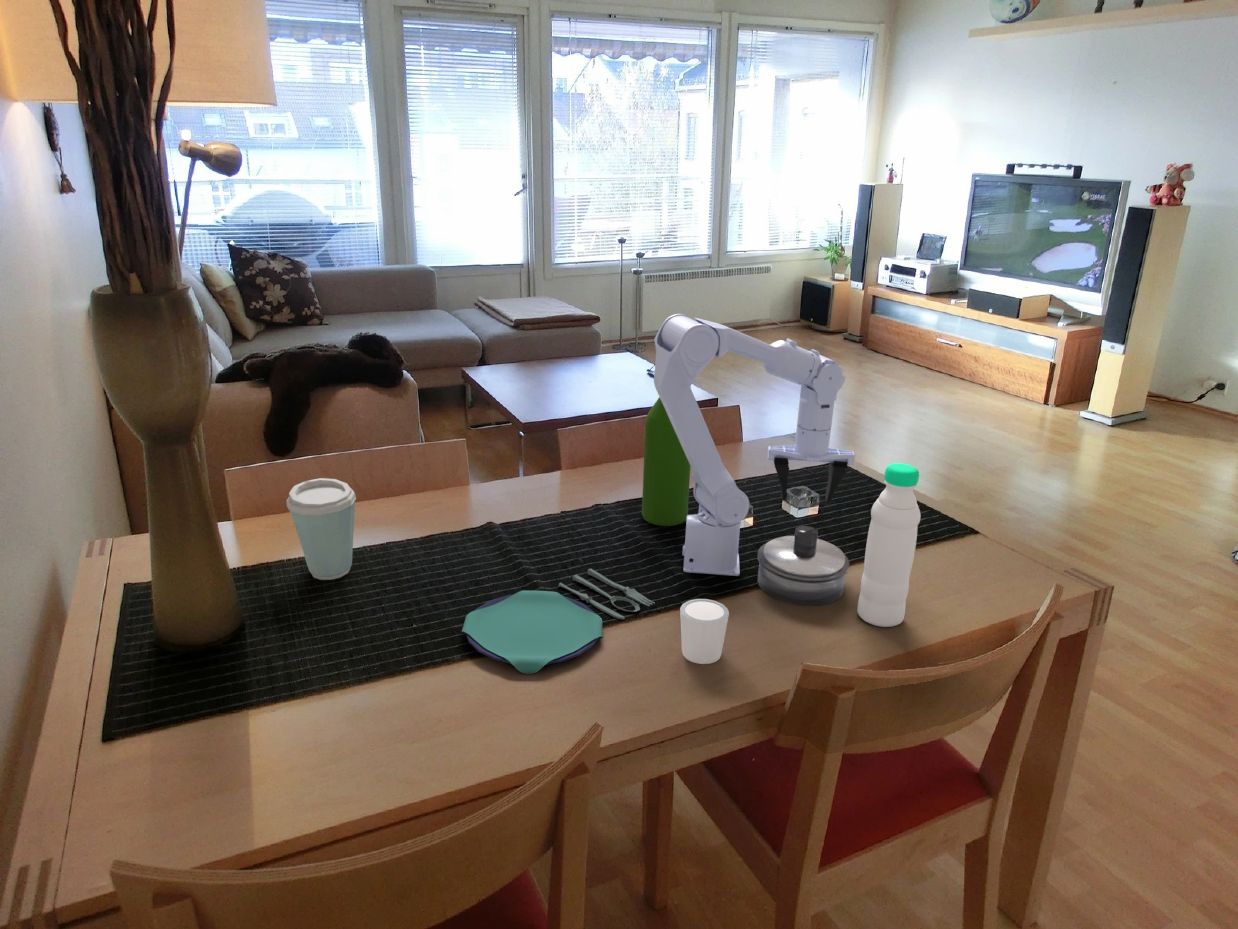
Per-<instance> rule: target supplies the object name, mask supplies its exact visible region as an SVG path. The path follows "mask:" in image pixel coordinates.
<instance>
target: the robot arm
mask: <svg viewBox="0 0 1238 929" xmlns="http://www.w3.org/2000/svg"><path fill="white" fill-rule="evenodd" d="M653 341H654V345H655V363H654V375H653V383H654V387H655V390H656V393H657V395H658V398H659V397H660V399H661V401H662V403H663V406H664V408H665V410H666V412H667V415H668V417H669V419H670V421H671V424H672V426H673V428H674V430H675V432H676V435H677V437H678V439H679V441H680V444H681V446H682V448H683V450H684V453H685V455H686V457H687V459H688V461H689V464H690V469H691V471H692V474H690V478H691V479H692V482H693V491H692V492H693V497H694V499H695V501H696V502H697V503H698V513H697V514H696V513H695V514H688V515H687V519H686V520H685V523H686V525H685V539H684V540H685V541H684V545H682V556H684V557H683V568H682V569H683V572H685V573H694V574H707V575H719V576H731V577H732V576H733V577H739V576H740V574H741V573H740V572H741V571H740V556H739V555H740V554H739V546H740V545H739V544H740V541H739V540H740V531H741V530H740V529H741V522H742V521H743V520H744V519H745V518H746V516H747V514H748V513H749V510H750V500H749V498H748V496H747V495H746V493H744V492H743V491H742V490H741V489H740V488H738V486H737V484H736V481H735V480H734V479H733V477H732V476H731V475H730V473H729V471H728V470H727V469H726V466H724V463H723V460H722V458H721V455H720V454H719V451H718V449H717V447H716V444H715V442H714V439H713V438H712V435H711V433H710V430H709V428H708V425H707V423H706V421H705V419H704V416H703V414H702V411H701V409H700V406H699V404H698V402H697V400H696V397H695V396H694V393H693V391H692V387H691V386H692V384H693V382H694V380H695V379H696V378H697V377H698V376H699V374H700V373H701V372H702V371H703V370H704V369H705V368H706V367H707V366H708V365H709V364H710V362H711V361H713V359H714V357H717V358H721V357H723V356H724V355H725V354H727V353H728V352H730V353H733V354H735V355H739V356H741V357H745V358H747V359H750V360H754V361H757V362H760V363H762V364H763V367H764V370H765V371H766V373H767V374H769V375H772V376H774V377H777V378H780V379H782V380H785V381H789V382H791V383H794V384H796V385H800V392H799V404H798V411H797V412H798V413H797V421H796V422H797V423H796V431H795V440H794V445H791V444H790V445H768V447H767V460H768V461H773V463H774V464H773V465H774V468H775V471H776V474H777V477H778V480H779V483H780V494H781V495H780V497H781V501H787V496H788V495H787V494H788V480H789V472H790V466H789V463H790V462H789V461H797V462H798V461H800V462H801V461H802V462H803V461H804V462H812V463H828V464H829V466H828V479H827V485H826V490H825V496H824V497H825V503H826V504H832V500H833V496H834V494H835V493H836V490H837V488H838V486H839V485H840V483H841V481H842V480H843V478H844V477H845V476H846V475H847V472H848V471H849V470H848V468H849V467H848V466H854V464H855V461H856V460H855V458H856V455H855V452H854V450H847V449H846V450H844V449H838V448H832V447H830V441H831V433H832V426H833V425H832V424H833V416H834V408H835V402H836V401H837V395H838V392H839V391H840V389H841V388H842V387H843V385H844V383H845V381H846V376H844V375H843V368H842V367H841V366H840V363H839V362H837V361H835V360H833V359H832V358H831V359H830V358H828V357H826V356H824V355H821V354H820V351H818V350H816V349H813V348H812V349H811V350H808V349H805V348H803V347H800V346H798V342H797V341H795V340H792V339H790V338H786V340H782V339H779V340H775V341H774V342H772V343H770V344H769V343H767V342H764V341H762V340H760V339H757V338H756V337H752V336H750V335H748V334H746V333H744V332H741V331H738V330H736V329H734V328H731V327H730V326H729V327H728V326H726V325H724V324H722V323H718V322H713V321H711V320H706V319H702V318H698V317H694V318H693V319H692V318H691V317H690V316H688V315H686V314H683V313H676V314H672V315H669V316H668V317H666V319H665V320H664V321H663V322H662V324H661V325H660V327H659V329H658V332H657V333H656V335H655V337H654V339H653Z"/></svg>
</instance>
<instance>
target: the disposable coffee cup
mask: <svg viewBox="0 0 1238 929" xmlns="http://www.w3.org/2000/svg"><path fill="white" fill-rule="evenodd" d="M285 500H286V507H287V509H288V511H289V512H290V514H291V517H292V518H291V519H292V521H293V524H294V527H295V530H296V533H297V538H298V540H299V543H300V545H301V549H302V553H303V556H304V559H305V562H306V565H307V568H308V571H309V572H310V574H311V575H312V578H314V579H318V580H320V581H327V580H329V581H331V580H336V579H340V578H342V577H344V576H345V575H347V574H349V572H350V570H351V567H352V565H353V549H354V548H353V547H354V531H355V530H354V529H355V528H354V527H355V526H354V525H355V510H356V508H355V507H356V506H355V504H356V500H357V497H356V492H355V491H354V490H353V488H351V487H350V485H349V484H348V483H347V482H344V481H341V480H338V479H336V478H324V477H322V478H321V477H320V478H315V479H310V480H305V481H302V482H300V483H298V484H295V485H294V486H293V487H292V488H291V490H290V491H289V492H288V497H287V499H285Z"/></svg>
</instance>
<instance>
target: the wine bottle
mask: <svg viewBox="0 0 1238 929" xmlns="http://www.w3.org/2000/svg"><path fill="white" fill-rule="evenodd" d="M644 423H645V424H644V426H645V427H644V446H643V447H644V450H643V453H644V454H643V473H642V497H641V498H642V499H641V500H642V502H641V515H642V519H643V520H644V521H646V522H647V523H649V524H652V525H656V526H663V527H671V526H672V527H674V526H678V525H682V524H683V523H685V522H686V521H687V515H689V497H690V495H689V494H690V481H691V480H690V479H691V466H690V464H689V461H688V459H687V457H686V455H685V453H684V450H683V448H682V446H681V444H680V441H679V439H678V437H677V435H676V432H675V430H674V428H673V426H672V424H671V421H670V419H669V417H668V415H667V412H666V410H665V408H664V406H663V403H662V401H661V399H660V397H659V396H658V398H657V399H656V401H655V403H654V404H653V405H652V406H651V408H650V409H649V411H648V412H647V415H646V419H645V422H644Z"/></svg>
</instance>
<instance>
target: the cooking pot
mask: <svg viewBox="0 0 1238 929" xmlns="http://www.w3.org/2000/svg"><path fill="white" fill-rule="evenodd" d="M768 542H769V541H767V542H766V543H764V544H763V545H761V546H760V547H759V548H758V551H757V561H758V563H759V565H758V572H757V574H758V575H757V584H758V583H759V584H758V586H759V588H760V589H761V590H762V591H763V592H764V593H765V594H767V596H770V597H771V598H773V599H775V600H778V601H781V602H784V603H787V604H790V605H796V606H805V607H806V606H809V607H814V606H815V607H817V606H825V605H828V604H831V603H834V602H836V601H838V600H839V599H840V598H841V597H842V595H843V593H844V587H845V580H846V574H847V573H848V572H849V568H850V560H849V558H848V557H847V555H846V554H845V553H844V555H845V563H844V568H843V570H842V571H841V572H839V573H838V574H836V575H833V576H830V577H825V578H802V577H796V576H791V575H788V574H784V573H782V572H779V571H777V570H775V569H774V568H772V567H771V566H769V565H768V564H767V563H766V561H765V560H764V557H763V555H764V547H765V545H766V544H767V543H768Z"/></svg>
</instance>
